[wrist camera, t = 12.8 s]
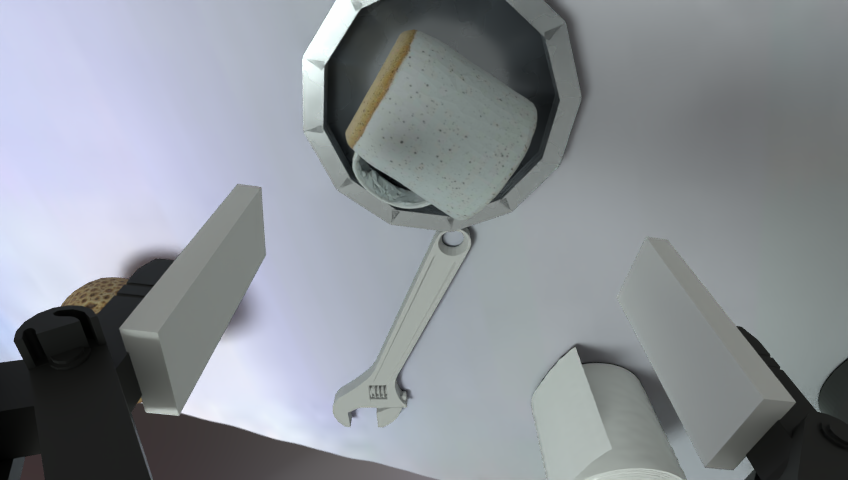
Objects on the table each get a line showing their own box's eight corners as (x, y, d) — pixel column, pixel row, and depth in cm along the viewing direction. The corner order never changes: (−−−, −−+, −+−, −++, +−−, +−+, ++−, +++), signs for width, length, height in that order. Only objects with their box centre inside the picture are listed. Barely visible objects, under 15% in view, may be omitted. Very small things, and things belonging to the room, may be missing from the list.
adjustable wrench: (442, 211, 33) (443, 223, 32) (517, 243, 35) (521, 256, 33) (328, 405, 45) (324, 420, 44) (386, 422, 47) (385, 438, 46)
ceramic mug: (408, 7, 25) (399, 34, 18) (527, 87, 27) (555, 136, 21) (327, 159, 30) (298, 222, 23) (432, 216, 32) (432, 286, 26)
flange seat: (608, -21, 24) (620, -18, 23) (529, 228, 33) (534, 242, 32) (309, -70, 23) (301, -70, 22) (309, 201, 32) (304, 214, 31)
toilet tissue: (582, 443, 48) (614, 548, 40) (497, 400, 44) (513, 506, 36) (665, 391, 43) (722, 499, 35) (578, 338, 39) (619, 445, 31)
